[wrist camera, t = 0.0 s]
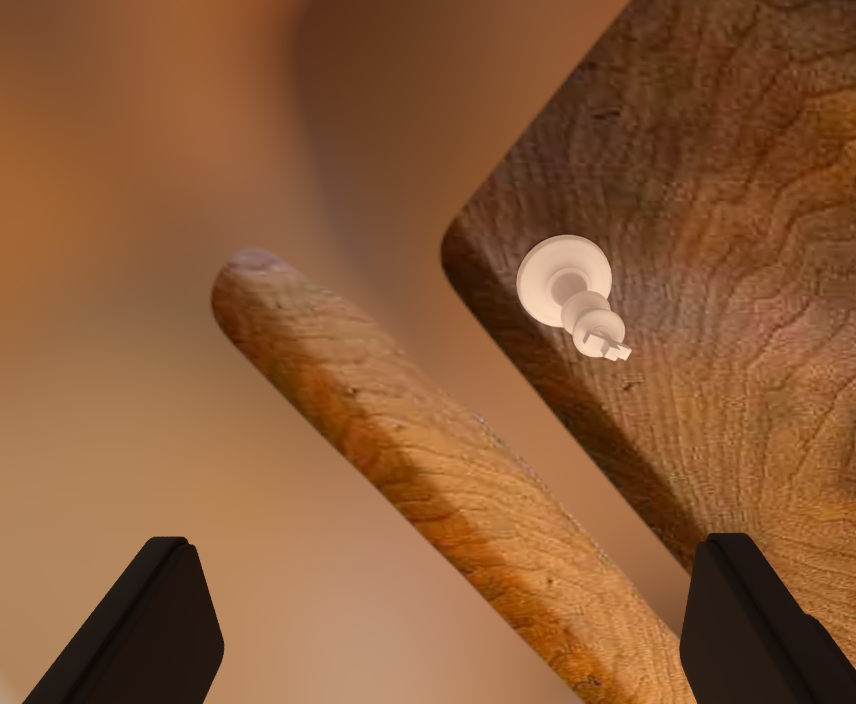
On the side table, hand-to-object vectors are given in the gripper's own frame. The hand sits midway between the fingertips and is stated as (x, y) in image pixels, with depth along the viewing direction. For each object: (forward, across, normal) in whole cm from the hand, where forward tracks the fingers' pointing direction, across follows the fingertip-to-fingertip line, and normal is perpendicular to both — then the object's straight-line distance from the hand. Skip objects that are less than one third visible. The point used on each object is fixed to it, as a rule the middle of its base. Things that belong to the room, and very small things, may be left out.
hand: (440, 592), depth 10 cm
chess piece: (+20, -6, 0) cm, 21 cm away
